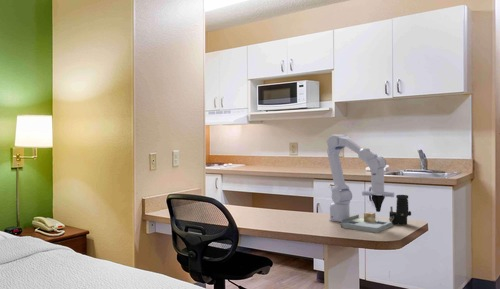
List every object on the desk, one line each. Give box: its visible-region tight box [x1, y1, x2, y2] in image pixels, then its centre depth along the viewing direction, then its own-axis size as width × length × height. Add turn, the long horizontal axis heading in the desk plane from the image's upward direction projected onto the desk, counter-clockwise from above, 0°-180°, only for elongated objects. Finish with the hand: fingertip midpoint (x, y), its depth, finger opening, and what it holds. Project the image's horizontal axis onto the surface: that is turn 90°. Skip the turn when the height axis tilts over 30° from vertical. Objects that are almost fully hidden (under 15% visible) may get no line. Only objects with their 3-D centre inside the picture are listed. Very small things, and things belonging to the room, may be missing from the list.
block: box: [363, 211, 377, 222], centre depth 198 cm, size 4×4×4 cm
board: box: [340, 214, 393, 234], centre depth 196 cm, size 18×16×4 cm
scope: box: [388, 194, 412, 226], centre depth 200 cm, size 8×14×10 cm
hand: (378, 211), depth 193 cm, fingers closed
